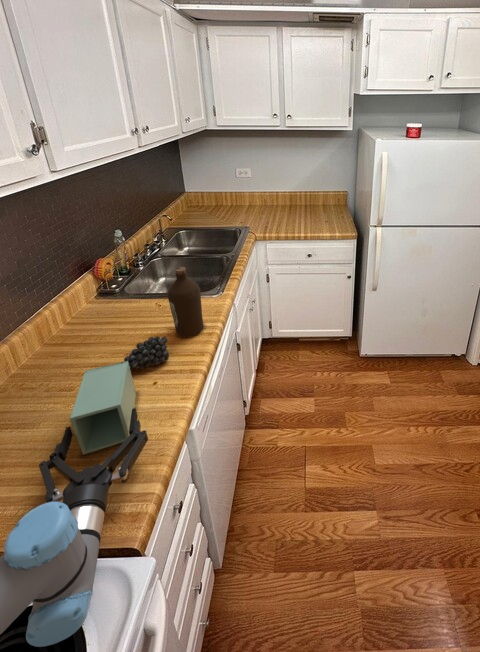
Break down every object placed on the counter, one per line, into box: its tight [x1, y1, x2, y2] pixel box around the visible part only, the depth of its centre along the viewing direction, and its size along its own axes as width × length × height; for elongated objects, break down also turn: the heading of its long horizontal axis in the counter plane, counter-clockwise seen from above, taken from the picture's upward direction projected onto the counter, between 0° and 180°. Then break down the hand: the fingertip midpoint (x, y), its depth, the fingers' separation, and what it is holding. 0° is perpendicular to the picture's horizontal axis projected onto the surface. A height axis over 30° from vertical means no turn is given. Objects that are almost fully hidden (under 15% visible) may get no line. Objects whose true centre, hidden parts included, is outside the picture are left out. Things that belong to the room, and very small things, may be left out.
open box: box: [69, 361, 137, 455], centre depth 84 cm, size 15×10×12 cm, turn 22°
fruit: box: [123, 335, 171, 372], centre depth 104 cm, size 9×8×15 cm
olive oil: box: [167, 266, 204, 338], centre depth 117 cm, size 11×11×25 cm
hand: (103, 421), depth 80 cm, fingers open, 13 cm apart
